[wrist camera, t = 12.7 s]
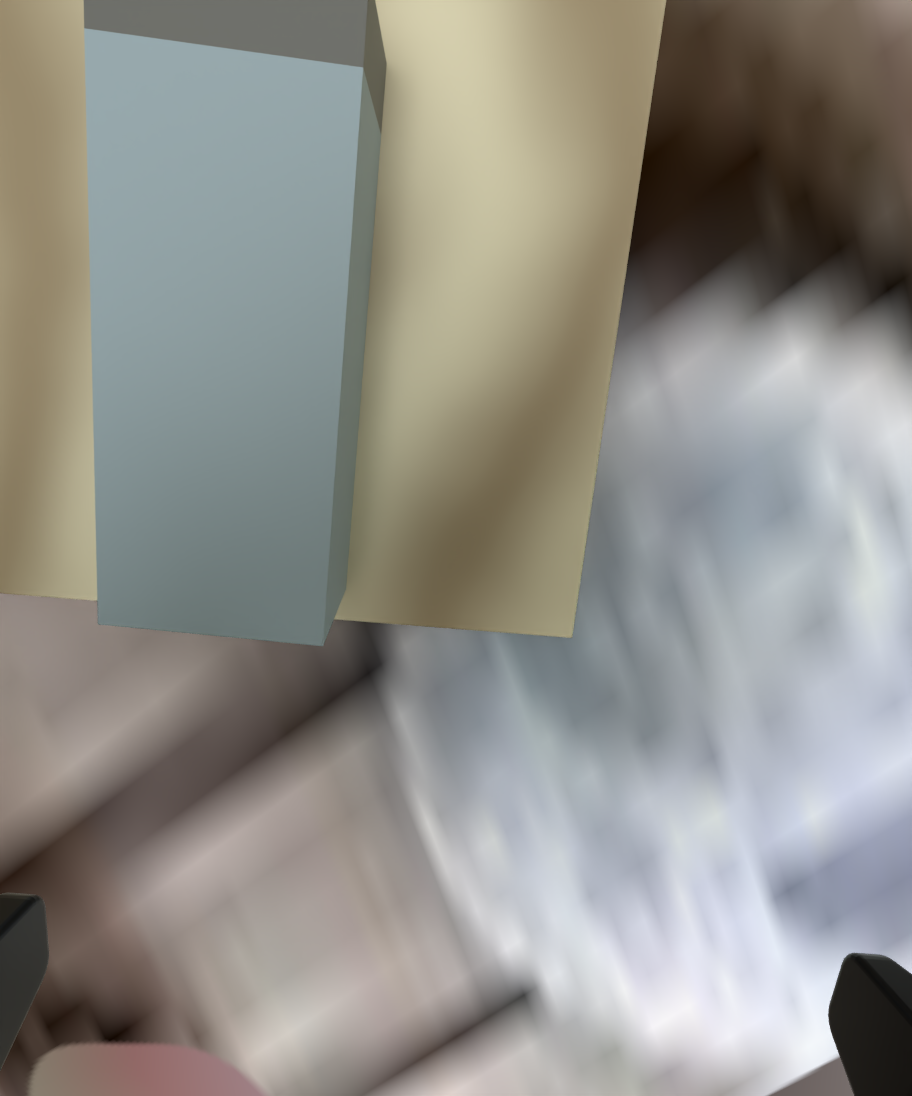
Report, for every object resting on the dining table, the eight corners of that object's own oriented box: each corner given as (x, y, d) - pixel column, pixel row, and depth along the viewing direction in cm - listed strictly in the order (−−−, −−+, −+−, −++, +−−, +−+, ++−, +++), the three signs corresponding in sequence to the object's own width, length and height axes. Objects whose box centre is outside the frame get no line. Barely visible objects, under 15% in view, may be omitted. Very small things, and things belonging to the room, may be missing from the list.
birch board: (-43, 576, 20) (-67, 587, 19) (-110, -80, 16) (-146, -108, 15) (566, 624, 21) (572, 637, 20) (654, 13, 17) (667, -8, 16)
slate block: (98, 624, 15) (81, -72, 12) (166, 570, 19) (169, 32, 16) (322, 646, 16) (369, -29, 12) (345, 589, 20) (386, 63, 16)
